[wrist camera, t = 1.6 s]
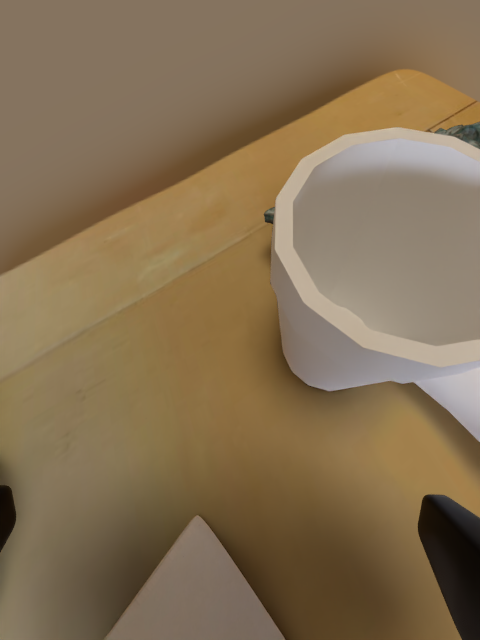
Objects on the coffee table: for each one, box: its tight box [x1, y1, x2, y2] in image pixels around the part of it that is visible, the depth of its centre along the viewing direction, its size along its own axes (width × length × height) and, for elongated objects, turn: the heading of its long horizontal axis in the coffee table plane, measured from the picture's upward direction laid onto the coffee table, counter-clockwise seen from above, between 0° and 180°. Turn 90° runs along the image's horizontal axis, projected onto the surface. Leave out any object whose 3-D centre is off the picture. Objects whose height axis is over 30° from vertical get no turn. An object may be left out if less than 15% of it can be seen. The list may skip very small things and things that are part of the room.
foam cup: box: [270, 127, 480, 391], centre depth 17 cm, size 10×9×13 cm
